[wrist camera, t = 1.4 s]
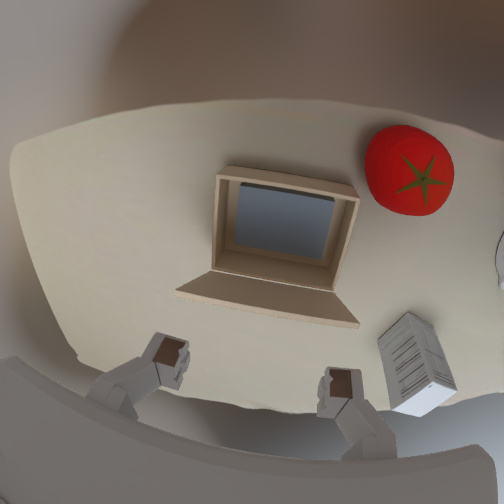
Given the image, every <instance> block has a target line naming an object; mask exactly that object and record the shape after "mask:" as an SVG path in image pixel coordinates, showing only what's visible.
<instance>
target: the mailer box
mask: <svg viewBox="0 0 504 504" xmlns="http://www.w3.org/2000/svg"><path fill="white" fill-rule="evenodd" d="M359 203H360V197H359V195H358V194H357V192H356V191H355V189H354V188H353V186H350V185H345V184H341V183H336V182H331V181H326V180H321V179H315V178H310V177H305V176H299V175H293V174H287V173H281V172H275V171H268V170H261V169H254V168H247V167H239V166H231V165H228V166H226V167H225V168H224V169H222V170H221V171H220V172H219V173H217V174H216V186H215V202H214V221H213V242H212V268H211V269H213V270H219V271H224V272H229V273H235V274H240V275H245V276H251V277H256V278H262V279H267V280H273V281H278V282H284V283H290V284H295V285H301V286H307V287H313V288H319V289H325V290H331V291H334V289H335V286H336V283H337V280H338V277H339V274H340V271H341V268H342V264H343V261H344V258H345V254H346V251H347V248H348V244H349V241H350V237H351V234H352V230H353V226H354V223H355V219H356V215H357V211H358V207H359Z"/></svg>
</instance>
